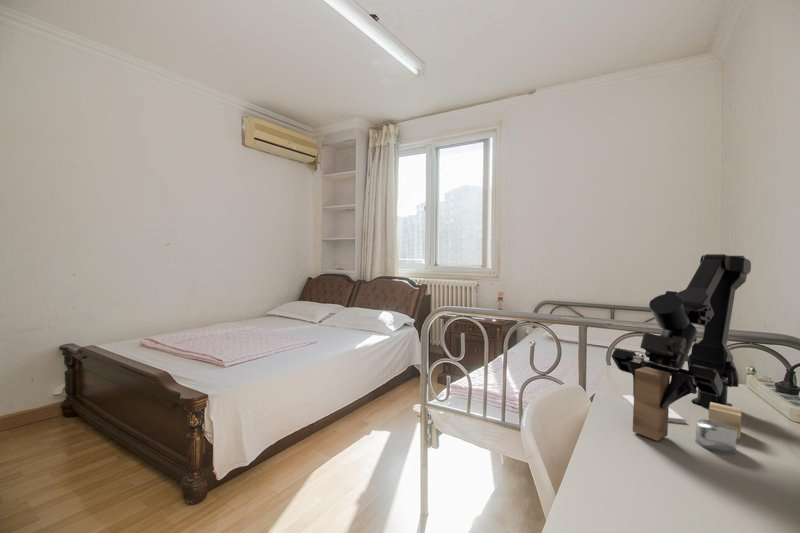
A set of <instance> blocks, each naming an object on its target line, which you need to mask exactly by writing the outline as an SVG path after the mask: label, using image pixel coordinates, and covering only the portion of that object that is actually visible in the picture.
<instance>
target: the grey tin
mask: <svg viewBox="0 0 800 533" xmlns="http://www.w3.org/2000/svg"><path fill="white" fill-rule="evenodd" d="M694 438H695V443H696V444H697V445H698V446H700V447H701V448H703V449H705V450H708V451H710V452H713V453H716V454H721V455H728V456H731V455H735V454H736V453H737V441H738V439H737V431H736V430H735V429H734V428H732V427H730V426H728V425H725V424H723V423H719V422H715V421H711V420H709V419H697V420H696V421H695V437H694Z"/></svg>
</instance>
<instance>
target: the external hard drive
mask: <svg viewBox="0 0 800 533" xmlns="http://www.w3.org/2000/svg"><path fill="white" fill-rule="evenodd" d="M622 400H623V401H625V402H626V403H627V404H628V406H630V407H631V408H632V409H633V408H634V397H633V395H627V394H624V395H622ZM686 422H687V420H686V419H685V418H683V417H682V416H681V415H679V414H678V413H677V412H675V411H674V410H673V409H672V408H670V407H669V409H668V423H677V424H686Z"/></svg>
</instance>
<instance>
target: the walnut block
mask: <svg viewBox="0 0 800 533" xmlns="http://www.w3.org/2000/svg"><path fill="white" fill-rule="evenodd" d="M670 382H671V376H670V373H669V372H665V371H661V370H657V369H653V368H649V367H643V368H639V369H636V370H635V382H634V408H632V409H633V410H632V411H633V412H632V413H633V415H632V416H633V417H632V432H633V433H636V434H639V435H641V436H644V437H646V438H648V439H652V440H654V441H656V442H658V441H659V440H662V439H663V438H665V437H667V436H668V429H669V428H668V427H669V422H668V409H669V408H670V405H669V406H667V407H666V408H664V409H662V408H661V407H660V403H661V400H662V398H663V396H664V394H665V392H666V390H667V388H668V386H669V384H670Z"/></svg>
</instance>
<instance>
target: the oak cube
mask: <svg viewBox="0 0 800 533" xmlns="http://www.w3.org/2000/svg"><path fill="white" fill-rule="evenodd" d="M708 420H711V421H715V422H719V423H723V424H725V425H728V426H730V427H732V428H734V429H735V430H736V431H737V440H741V431H742V408H739V407H735V406H732V407H730V406H726V405H722V404H717V403H713V402H710V406H709V407H708Z"/></svg>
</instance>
